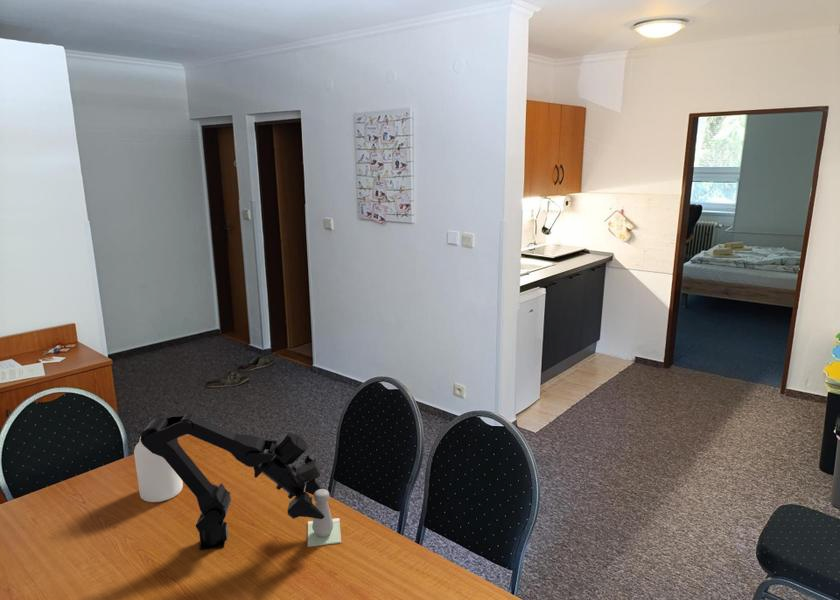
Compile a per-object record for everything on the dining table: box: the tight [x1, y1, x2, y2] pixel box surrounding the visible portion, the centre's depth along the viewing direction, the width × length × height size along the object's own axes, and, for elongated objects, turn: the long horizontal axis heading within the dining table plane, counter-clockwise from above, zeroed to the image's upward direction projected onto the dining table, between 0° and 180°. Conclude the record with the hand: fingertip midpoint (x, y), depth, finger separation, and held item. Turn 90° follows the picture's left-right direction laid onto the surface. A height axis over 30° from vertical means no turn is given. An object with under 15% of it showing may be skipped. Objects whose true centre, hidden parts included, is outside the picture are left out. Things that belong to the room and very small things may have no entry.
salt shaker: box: [312, 488, 333, 538], centre depth 159 cm, size 6×6×13 cm
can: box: [133, 436, 184, 503], centre depth 178 cm, size 12×12×20 cm
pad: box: [307, 517, 342, 548], centre depth 161 cm, size 9×11×1 cm
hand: (324, 507), depth 158 cm, fingers open, 9 cm apart
